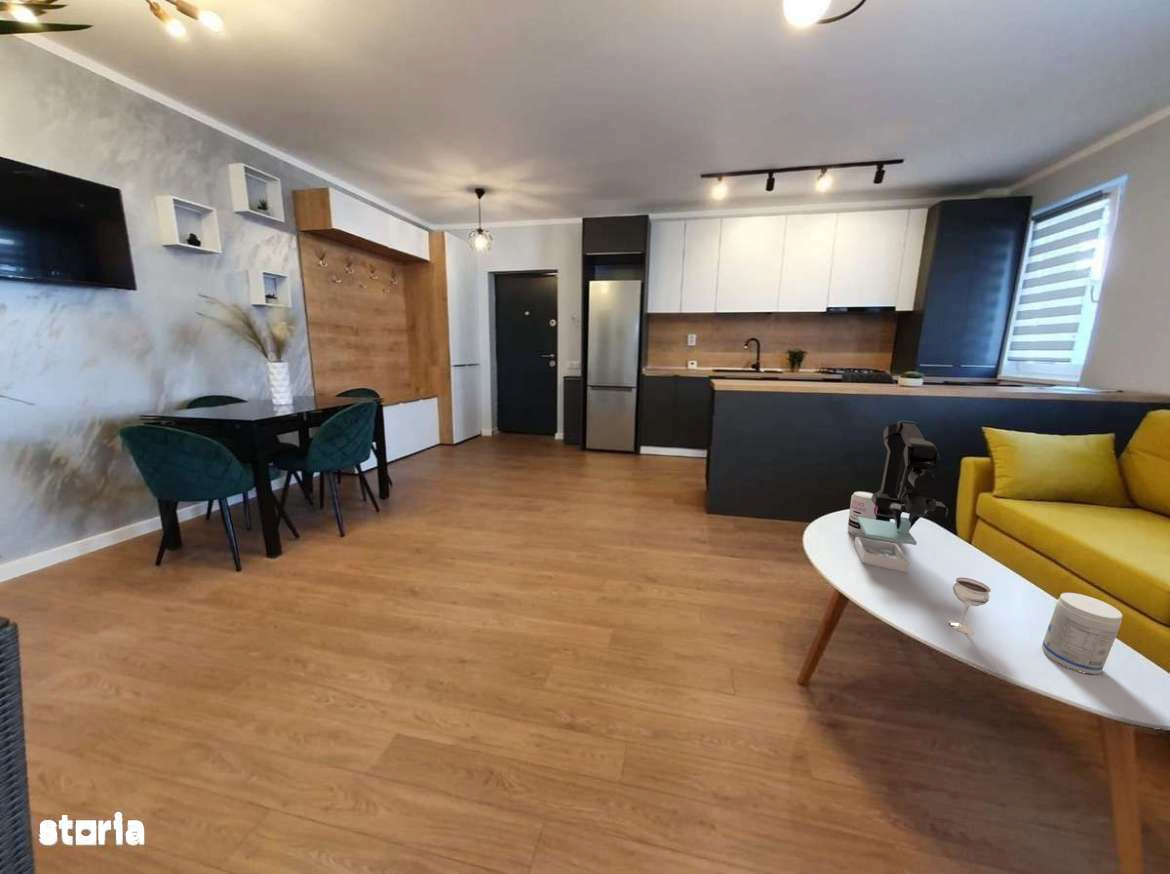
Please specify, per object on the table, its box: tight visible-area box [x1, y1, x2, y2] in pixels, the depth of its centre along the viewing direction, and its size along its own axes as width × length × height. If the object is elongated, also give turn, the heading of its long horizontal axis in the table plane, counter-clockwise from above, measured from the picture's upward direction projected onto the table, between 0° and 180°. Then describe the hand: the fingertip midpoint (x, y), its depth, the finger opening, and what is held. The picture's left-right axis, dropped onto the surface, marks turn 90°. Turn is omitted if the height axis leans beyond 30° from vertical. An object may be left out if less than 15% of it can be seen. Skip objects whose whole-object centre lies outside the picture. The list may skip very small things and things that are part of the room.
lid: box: [857, 516, 917, 546], centre depth 140 cm, size 14×13×6 cm
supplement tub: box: [1041, 592, 1124, 675], centre depth 98 cm, size 10×10×15 cm
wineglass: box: [948, 576, 992, 635], centre depth 108 cm, size 7×7×12 cm
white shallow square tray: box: [853, 536, 910, 573], centre depth 142 cm, size 13×12×4 cm
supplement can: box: [847, 491, 878, 539], centre depth 158 cm, size 8×8×15 cm
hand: (902, 529), depth 138 cm, fingers closed on lid, 2 cm apart
